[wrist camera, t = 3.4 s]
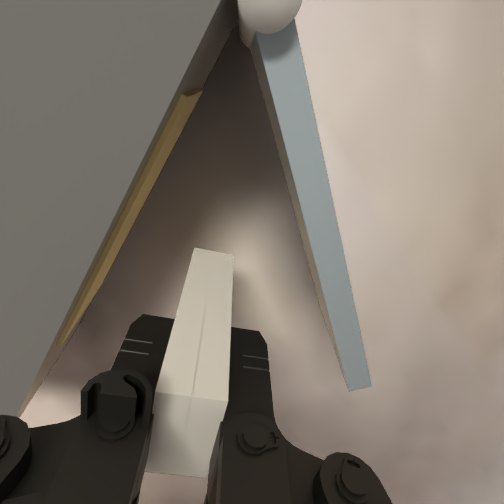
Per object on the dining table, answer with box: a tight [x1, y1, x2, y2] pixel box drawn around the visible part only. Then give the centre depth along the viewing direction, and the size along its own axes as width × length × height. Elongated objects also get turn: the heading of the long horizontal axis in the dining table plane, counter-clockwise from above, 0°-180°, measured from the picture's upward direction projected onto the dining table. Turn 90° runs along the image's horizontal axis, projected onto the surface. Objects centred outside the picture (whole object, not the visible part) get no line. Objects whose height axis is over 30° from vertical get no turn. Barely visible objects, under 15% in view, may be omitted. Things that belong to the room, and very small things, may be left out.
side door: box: [237, 0, 372, 391], centre depth 11 cm, size 12×1×6 cm, turn 17°
